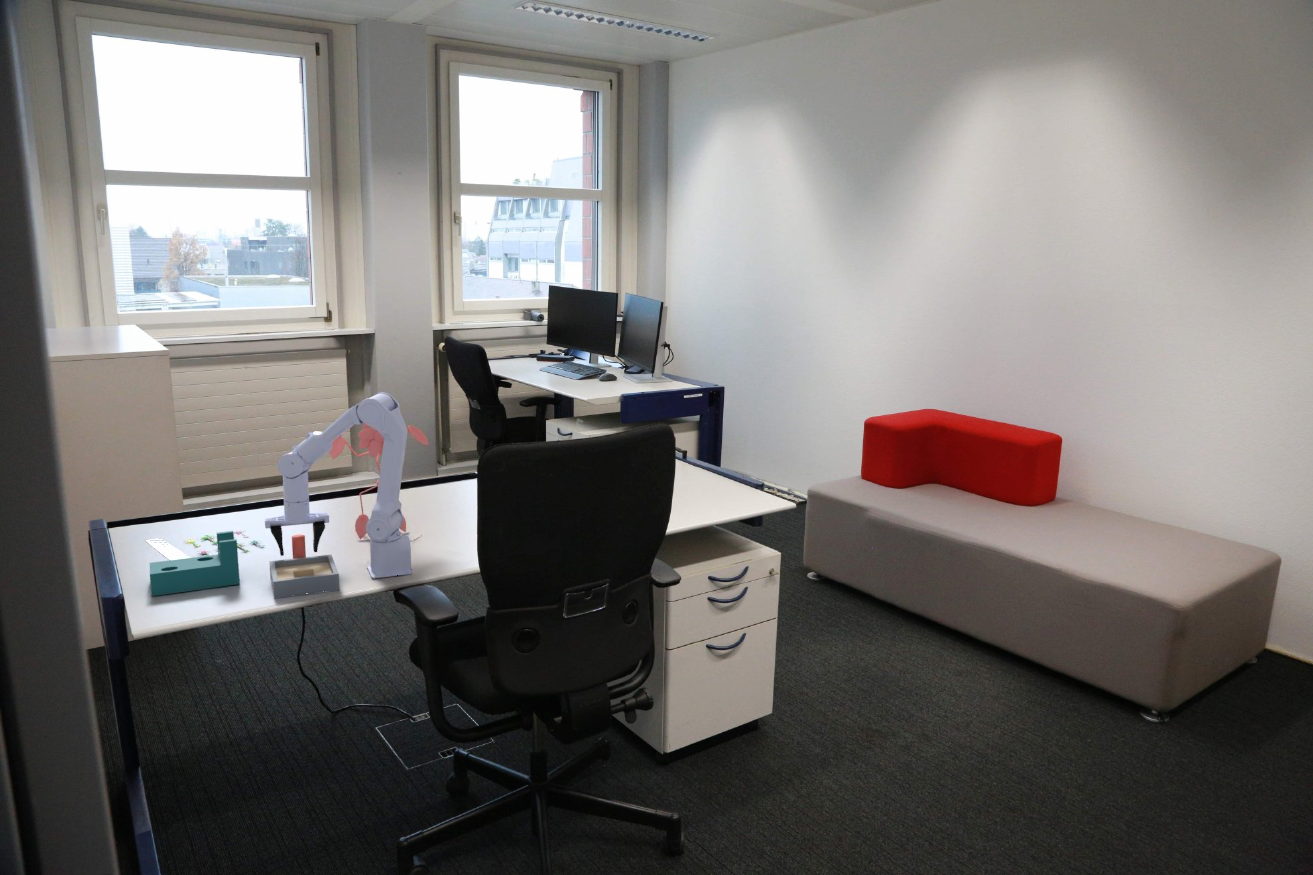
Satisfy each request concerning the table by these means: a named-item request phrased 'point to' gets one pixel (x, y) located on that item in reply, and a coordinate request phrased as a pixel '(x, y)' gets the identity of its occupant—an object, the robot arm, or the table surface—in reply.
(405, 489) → the table surface
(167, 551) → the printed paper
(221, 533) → the teal l-shaped bracket
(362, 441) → the figurine
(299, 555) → the peg
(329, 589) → the box
